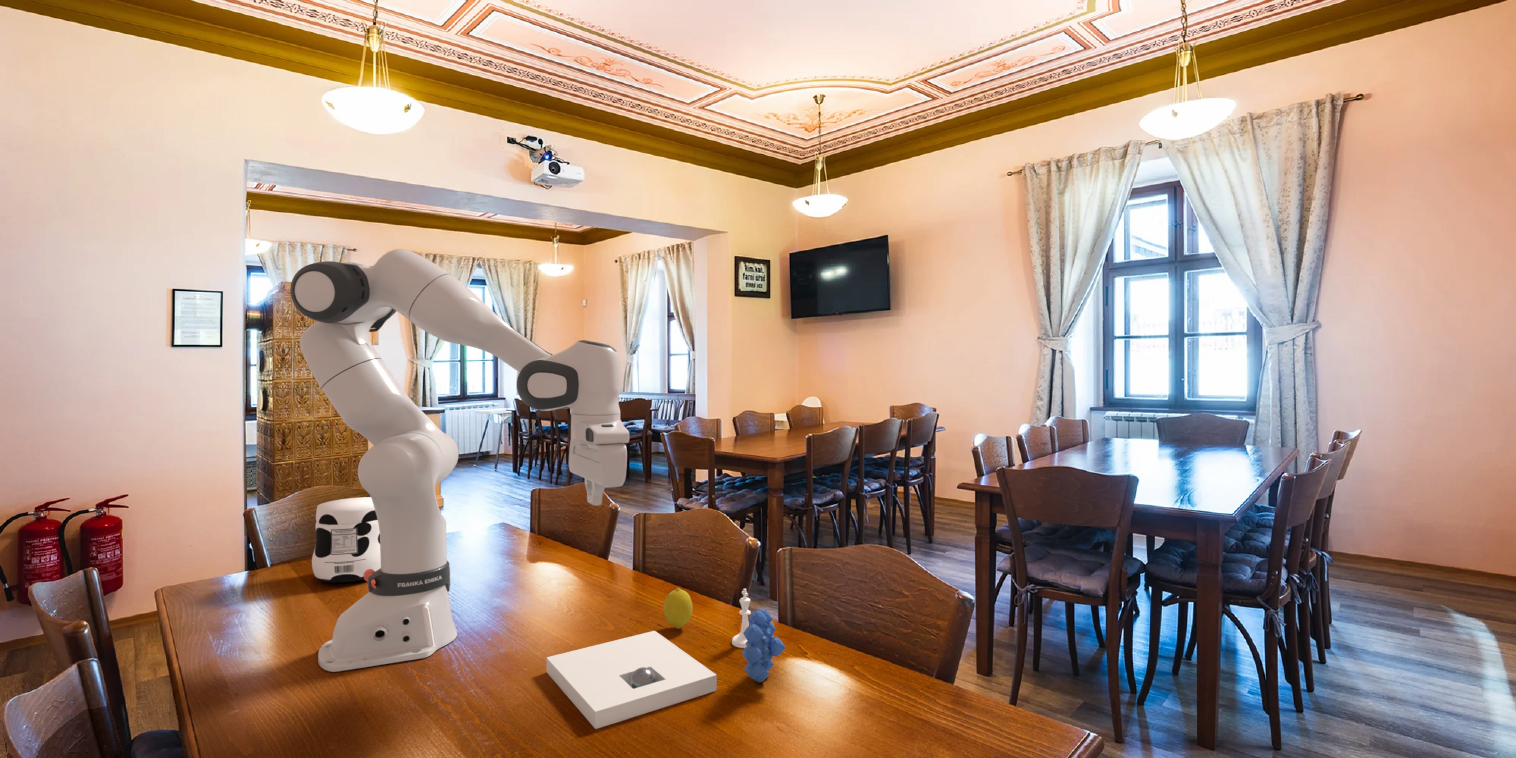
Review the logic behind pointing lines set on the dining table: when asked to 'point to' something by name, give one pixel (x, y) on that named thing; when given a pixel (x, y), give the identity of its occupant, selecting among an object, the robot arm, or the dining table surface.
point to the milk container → (346, 540)
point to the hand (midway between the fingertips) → (594, 504)
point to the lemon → (678, 608)
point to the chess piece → (743, 621)
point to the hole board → (628, 677)
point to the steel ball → (642, 677)
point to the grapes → (761, 645)
